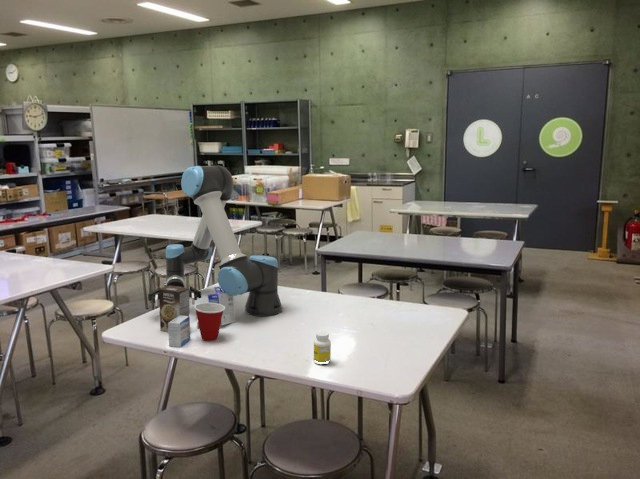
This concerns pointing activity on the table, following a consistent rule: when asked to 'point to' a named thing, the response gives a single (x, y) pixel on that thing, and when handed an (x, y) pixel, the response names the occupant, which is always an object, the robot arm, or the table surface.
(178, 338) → the medicine box
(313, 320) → the table surface
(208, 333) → the plastic cup
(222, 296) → the ink cartridge box
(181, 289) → the coffee box
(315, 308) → the table surface
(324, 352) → the supplement bottle
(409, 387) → the table surface
